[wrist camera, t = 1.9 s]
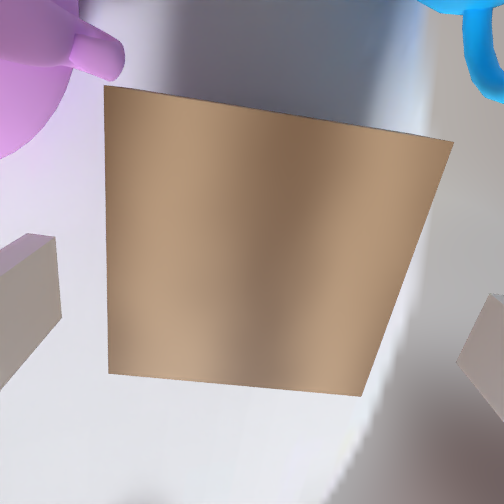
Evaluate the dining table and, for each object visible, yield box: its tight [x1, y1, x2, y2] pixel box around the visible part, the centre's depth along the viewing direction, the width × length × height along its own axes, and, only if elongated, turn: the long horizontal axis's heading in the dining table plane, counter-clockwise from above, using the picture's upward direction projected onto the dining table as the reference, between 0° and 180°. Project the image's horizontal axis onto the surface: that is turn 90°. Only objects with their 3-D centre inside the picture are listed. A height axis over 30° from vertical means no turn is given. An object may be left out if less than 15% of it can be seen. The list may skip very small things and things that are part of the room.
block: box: [104, 85, 454, 397], centre depth 14 cm, size 11×11×3 cm
